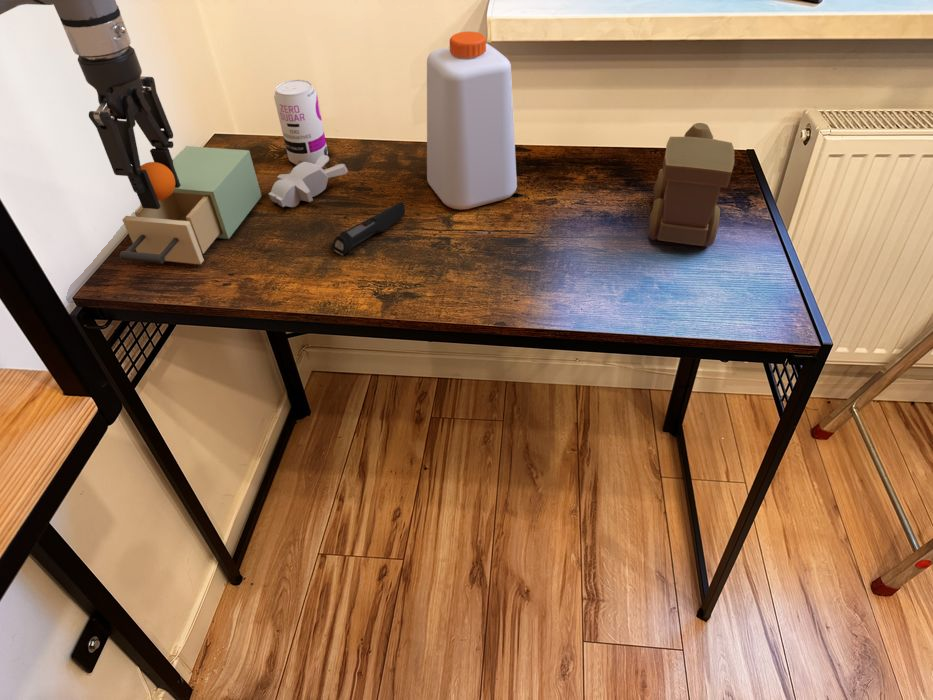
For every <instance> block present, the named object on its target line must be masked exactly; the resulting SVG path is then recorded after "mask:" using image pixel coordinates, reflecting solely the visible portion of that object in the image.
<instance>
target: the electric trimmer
mask: <svg viewBox="0 0 933 700" xmlns="http://www.w3.org/2000/svg"><path fill="white" fill-rule="evenodd" d="M405 208H406V207H405V203H404V202H403V201H400V202H398V203H396V204H394V205H392V206H390V207H389V208H387V209H385V210H383V211H381V212H379V213H377V214H376V215H373V216H372V217H370V218H367V219H365V220H363V221H361V222H360V223H357V224H356V225H354V226H353V227H350V228H349V229H347V230H345V231H342V232H341V233H339V235H337V236H336V237H335V238H334V240H333V243H332V249H333V251H335V252H336V253H337V254H340V255H341V256H344V255H349V254H351V251H352V248H354V247H356V246H357V245H359V244H360V243H362V242H364V241H366V240H367V239H369V238H370V237H372V236H373V235H375V234H381V233H384V232H385V231H386V230H388V229H389V228H391V227H392V226H393V225H394V224H395V223H397V222H398V221H399V220H400V219H402V218H403V217H404V216H405V215H406V209H405Z"/></svg>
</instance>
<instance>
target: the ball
mask: <svg viewBox="0 0 933 700" xmlns="http://www.w3.org/2000/svg"><path fill="white" fill-rule="evenodd" d="M140 165H141V170H146V172H147V174H148V177H149V179H150V181H151V184H152V186H153V189H154V191H155V194H156V196H157V199H158V200H164V199H166V198H168V197H169V196H170V195H171V194H172V193H173V191H174V189H175V177H174V175H173V173H172V172H171V170H170V169H169V168H168V167H166V166H165V165H163V164H161V163H157V162H154V161H149V162H145V163H143V164H140Z"/></svg>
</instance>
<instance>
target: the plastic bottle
mask: <svg viewBox="0 0 933 700" xmlns="http://www.w3.org/2000/svg"><path fill="white" fill-rule="evenodd" d="M512 78H513V77H512V65H511V62H510V60H509V58H507V57H506V56H505V55H504V54H503V53H501V52H500V51H499V50H497V48H495V47H493V46H492V45H490V44H488V43H487V38H486V37H485V35H484V34H482V33H480V32H478V31H460V32H457V33H455V34H453V35H451V36H450V38H449V46H447V47H442V48H437V49H435V50H433V51H431V52H430V53H429V54H428V55H427V58H426V181H427V184H428V185H429V186H430V188H431V189H432V190H433V191H434V193H435V194H436V195H437V197H438V198H439V199H440V201H441V202H442V203H443V204H444V205H445V206H447V207H448V208H451V209H453V210H460V211H461V210H462V211H463V210H470V209H473V208H478V207H480V206H481V207H482V206H485V205H489V204H493V203H497V202H500V201H504V200H507V199H509V198H510V197H512V196H513V195H514V194H515V193H516V191H517V187H518V179H517V178H518V177H517V160H516V139H515V119H514V101H513V79H512Z"/></svg>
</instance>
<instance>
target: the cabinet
mask: <svg viewBox="0 0 933 700" xmlns="http://www.w3.org/2000/svg"><path fill="white" fill-rule="evenodd" d="M252 159H253V158H252V156H251V152H250V150H247V149H234V148H222V147H221V148H220V147H207V146H206V147H205V146H192V145H186V146H185V147H184V148H183V149H182V150H181V151H180V152H179V153H177V155H176V156H175V157H173V158H172V160H173V166H174V168H175V171H176V174H177V177H178V179H179V182H180V185H181V186H180V187H179V188H175V189H174V191H173V192H174V193H187V194H199V195H210V196H211V199H212V202H213V205H214V208H215V211H216V214H217V217H218V220H219V223H220V226H221V229H222V231H221V232H220V234H219V235H218V236H217V237H216V239H223V240H230V238H231V237H232V236H233V235H234V233H235V232H236V231H237V229H238V228H239V226H240V225H242V223H243V221H244V220H245V219H246V218H247V216H248V215H249V213H250V212H251V211H252V210H253V208H254V207H256V205H257V203H258V202H259V200H260V199H261V198H262V196H263V195H262V192H261V188H260V183H259V181H258V178H257V174H256V170H255V166H254V162H253V160H252Z"/></svg>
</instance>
